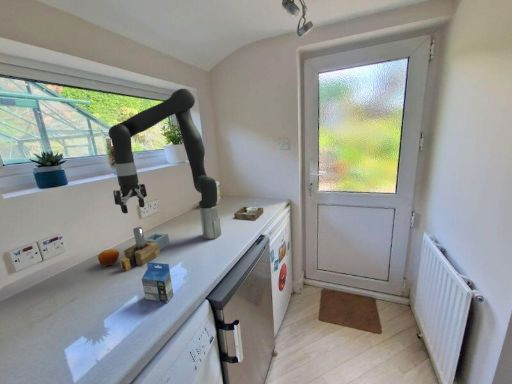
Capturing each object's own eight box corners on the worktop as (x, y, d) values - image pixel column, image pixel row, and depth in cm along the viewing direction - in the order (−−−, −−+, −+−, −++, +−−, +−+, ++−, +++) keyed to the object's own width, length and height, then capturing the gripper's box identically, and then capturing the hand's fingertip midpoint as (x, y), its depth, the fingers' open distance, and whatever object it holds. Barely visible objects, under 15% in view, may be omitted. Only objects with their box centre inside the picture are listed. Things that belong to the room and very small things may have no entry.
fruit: (97, 269, 96) (95, 251, 98) (101, 270, 103) (99, 253, 105) (119, 264, 100) (116, 246, 102) (121, 265, 107) (119, 248, 109)
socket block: (159, 254, 109) (157, 243, 107) (142, 265, 100) (140, 253, 98) (144, 251, 113) (142, 240, 111) (126, 262, 104) (123, 250, 102)
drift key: (142, 260, 104) (140, 251, 103) (126, 270, 97) (124, 260, 95) (137, 259, 105) (135, 250, 104) (121, 269, 98) (119, 259, 97)
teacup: (252, 211, 163) (251, 205, 162) (262, 214, 156) (262, 207, 155) (242, 215, 156) (241, 209, 155) (252, 218, 149) (252, 211, 148)
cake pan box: (212, 208, 175) (210, 186, 171) (206, 208, 176) (204, 186, 172) (221, 201, 193) (219, 181, 189) (215, 201, 194) (213, 181, 190)
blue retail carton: (144, 300, 78) (138, 268, 75) (152, 292, 82) (146, 261, 79) (167, 303, 76) (162, 270, 73) (174, 295, 80) (169, 263, 77)
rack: (169, 243, 120) (168, 234, 118) (156, 252, 112) (154, 241, 110) (156, 241, 123) (154, 232, 122) (142, 249, 115) (140, 239, 114)
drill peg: (149, 257, 107) (143, 227, 104) (143, 261, 104) (137, 230, 100) (143, 255, 109) (137, 226, 105) (137, 259, 105) (131, 229, 102)
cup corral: (263, 212, 159) (263, 207, 158) (255, 220, 146) (255, 215, 145) (243, 211, 165) (243, 206, 164) (234, 218, 151) (234, 213, 150)
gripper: (118, 176, 89) (126, 216, 93) (147, 171, 102) (153, 205, 106) (104, 176, 92) (113, 214, 96) (134, 171, 105) (141, 204, 108)
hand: (134, 210), depth 101 cm, fingers open, 8 cm apart
